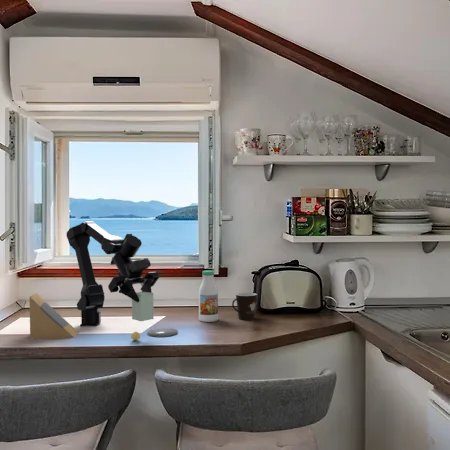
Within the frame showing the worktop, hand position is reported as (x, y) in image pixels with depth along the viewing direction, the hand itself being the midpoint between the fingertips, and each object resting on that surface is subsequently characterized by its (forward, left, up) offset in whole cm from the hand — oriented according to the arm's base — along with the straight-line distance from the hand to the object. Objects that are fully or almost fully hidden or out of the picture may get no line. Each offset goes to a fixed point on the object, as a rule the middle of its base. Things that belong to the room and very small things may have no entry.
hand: (145, 300), depth 174 cm
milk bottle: (+21, +30, -14) cm, 39 cm away
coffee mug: (+35, +32, -14) cm, 49 cm away
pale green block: (-1, +1, -7) cm, 7 cm away
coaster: (+5, +9, -13) cm, 17 cm away
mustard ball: (-3, -1, -13) cm, 14 cm away
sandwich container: (-33, +7, -14) cm, 37 cm away
